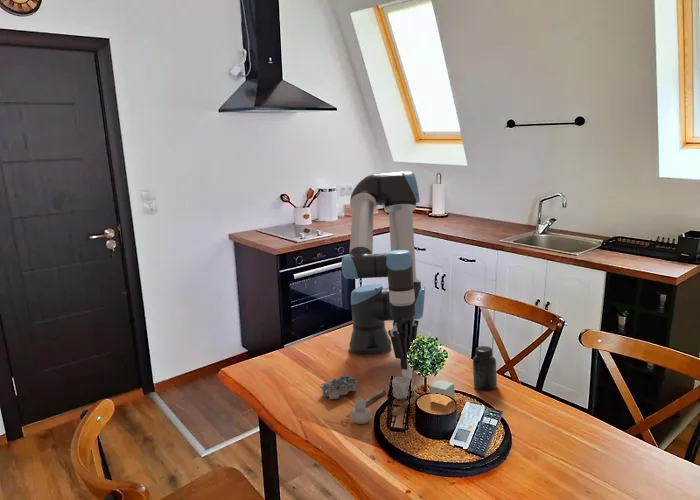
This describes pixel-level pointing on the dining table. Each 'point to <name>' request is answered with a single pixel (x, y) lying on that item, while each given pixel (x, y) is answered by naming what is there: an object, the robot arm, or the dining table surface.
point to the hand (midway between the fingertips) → (407, 378)
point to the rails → (395, 411)
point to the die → (401, 387)
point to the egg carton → (339, 386)
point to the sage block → (443, 388)
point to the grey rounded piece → (360, 412)
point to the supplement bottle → (484, 369)
